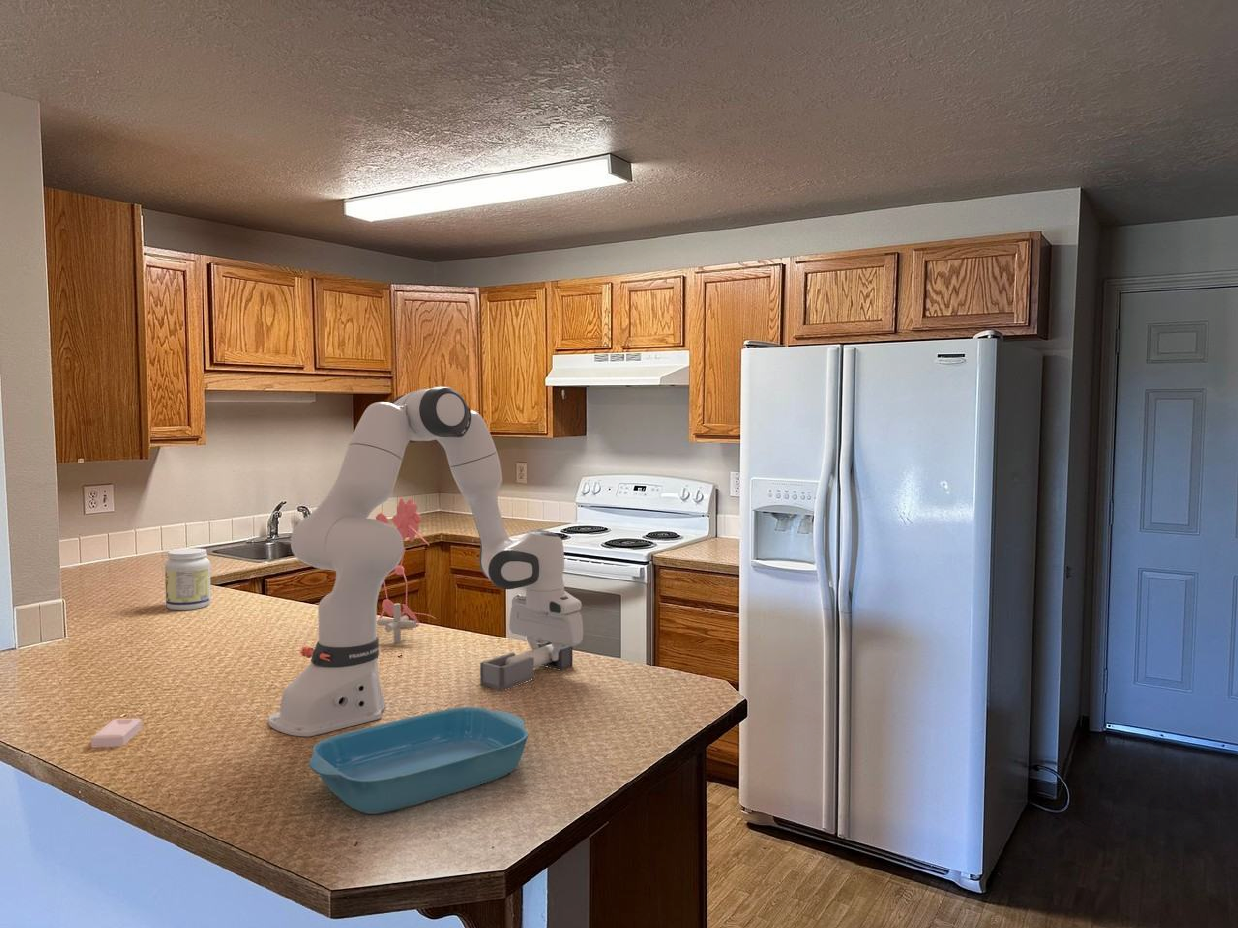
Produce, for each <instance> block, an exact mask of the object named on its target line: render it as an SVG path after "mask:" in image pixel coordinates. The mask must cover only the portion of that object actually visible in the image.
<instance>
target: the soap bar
mask: <svg viewBox="0 0 1238 928" xmlns="http://www.w3.org/2000/svg"><path fill="white" fill-rule="evenodd" d="M141 730H143V720H142V719H141V718H115V719H112V720H111V721H109V722H108V723H107V724H106V725H104V726H103V727H101V728H100V729H99V730H98V731H97V732H96V733H95V734H93V735H92V736H91V737H90V747H91V748H93V749H94V748H95V749H97V748H119V747H123V746H125V745H126V744H127V743H128V742H130V740H131V739H132V738H134V736H136V735H137V734H138V733H139V732H140V731H141Z"/></svg>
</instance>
